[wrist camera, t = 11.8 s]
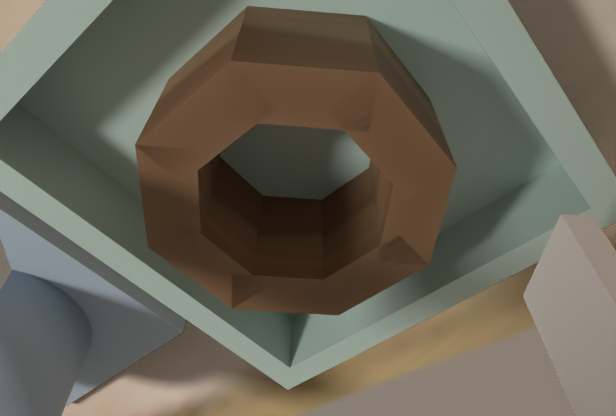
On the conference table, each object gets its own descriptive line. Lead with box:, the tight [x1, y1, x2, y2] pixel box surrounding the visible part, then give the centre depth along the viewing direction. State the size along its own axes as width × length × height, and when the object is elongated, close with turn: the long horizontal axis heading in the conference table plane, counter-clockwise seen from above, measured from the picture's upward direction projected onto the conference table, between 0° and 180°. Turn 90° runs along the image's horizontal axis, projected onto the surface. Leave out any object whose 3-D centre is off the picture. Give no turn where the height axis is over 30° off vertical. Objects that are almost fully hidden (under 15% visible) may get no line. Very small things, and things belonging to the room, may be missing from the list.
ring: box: [135, 6, 457, 316], centre depth 16 cm, size 8×8×4 cm
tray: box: [0, 0, 616, 390], centre depth 17 cm, size 15×14×3 cm
